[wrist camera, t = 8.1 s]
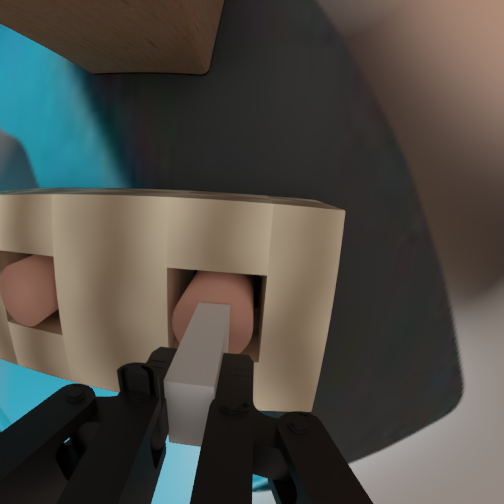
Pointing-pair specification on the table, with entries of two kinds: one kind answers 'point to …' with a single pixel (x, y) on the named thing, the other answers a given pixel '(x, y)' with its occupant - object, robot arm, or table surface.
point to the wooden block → (121, 32)
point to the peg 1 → (30, 289)
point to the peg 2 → (219, 292)
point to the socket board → (171, 279)
